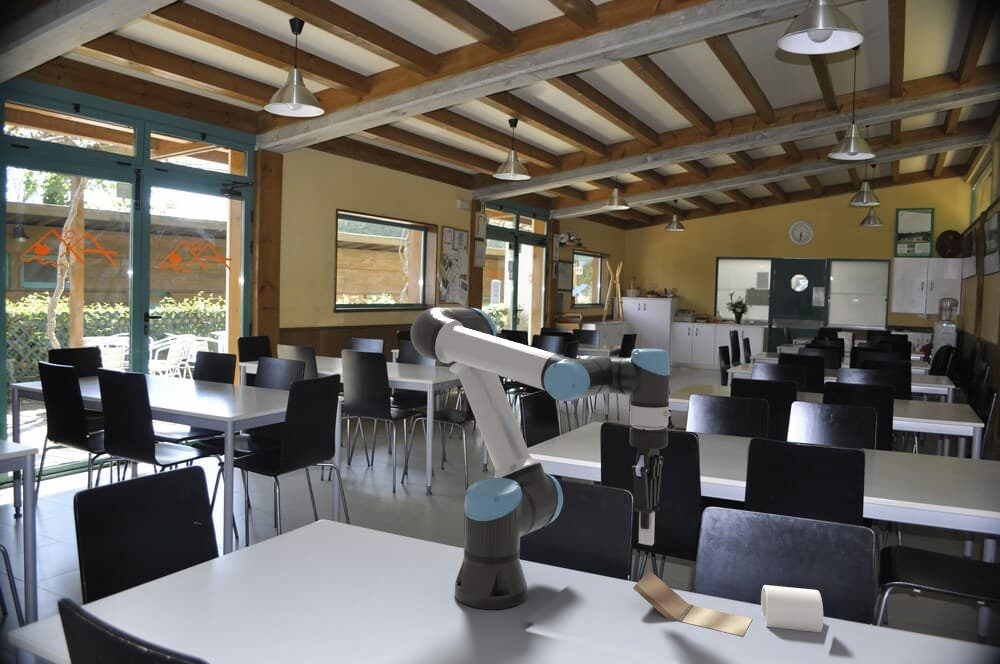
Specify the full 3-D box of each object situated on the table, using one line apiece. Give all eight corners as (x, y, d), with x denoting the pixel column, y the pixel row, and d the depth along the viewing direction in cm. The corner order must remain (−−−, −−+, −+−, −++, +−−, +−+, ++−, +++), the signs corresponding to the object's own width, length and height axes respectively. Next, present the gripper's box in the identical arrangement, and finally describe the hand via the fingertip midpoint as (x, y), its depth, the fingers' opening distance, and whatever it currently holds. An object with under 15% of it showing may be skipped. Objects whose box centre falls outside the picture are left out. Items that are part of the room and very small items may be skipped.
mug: (822, 642, 139) (824, 599, 138) (766, 635, 141) (767, 594, 140) (809, 615, 151) (811, 576, 150) (757, 609, 153) (759, 571, 152)
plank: (632, 588, 147) (636, 583, 147) (646, 574, 155) (649, 570, 155) (674, 624, 144) (677, 620, 143) (686, 609, 151) (689, 604, 151)
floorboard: (678, 627, 143) (678, 619, 143) (690, 611, 151) (690, 604, 151) (742, 643, 137) (742, 635, 137) (751, 625, 145) (752, 618, 145)
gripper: (657, 433, 142) (654, 556, 143) (677, 423, 153) (674, 537, 154) (619, 429, 145) (617, 549, 146) (641, 420, 157) (639, 531, 158)
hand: (646, 543), depth 150 cm, fingers closed
